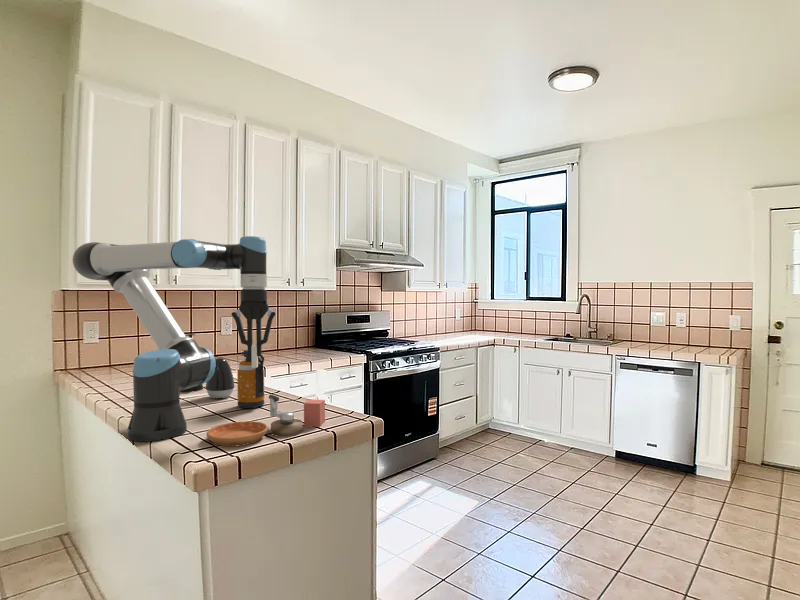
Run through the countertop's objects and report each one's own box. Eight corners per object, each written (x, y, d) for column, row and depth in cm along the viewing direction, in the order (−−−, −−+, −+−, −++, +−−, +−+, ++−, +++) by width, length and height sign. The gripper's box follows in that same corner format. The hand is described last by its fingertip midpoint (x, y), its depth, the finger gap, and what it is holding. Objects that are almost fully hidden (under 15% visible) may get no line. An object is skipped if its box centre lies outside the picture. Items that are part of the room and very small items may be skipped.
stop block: (304, 426, 143) (303, 403, 142) (309, 421, 148) (309, 399, 147) (320, 426, 142) (319, 403, 142) (325, 422, 147) (324, 399, 147)
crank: (296, 422, 137) (296, 400, 137) (283, 424, 134) (283, 402, 134) (277, 413, 146) (276, 393, 146) (264, 416, 143) (264, 395, 143)
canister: (254, 402, 173) (254, 347, 173) (273, 406, 166) (272, 350, 166) (232, 406, 166) (232, 350, 166) (250, 411, 159) (250, 352, 159)
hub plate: (265, 435, 133) (265, 426, 133) (278, 426, 142) (278, 417, 142) (296, 437, 132) (296, 427, 132) (307, 427, 141) (307, 418, 141)
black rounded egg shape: (227, 393, 188) (226, 355, 188) (239, 397, 181) (238, 357, 180) (201, 397, 181) (200, 357, 181) (212, 401, 174) (212, 360, 173)
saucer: (197, 439, 131) (197, 428, 131) (251, 427, 142) (251, 417, 142) (221, 453, 120) (221, 441, 119) (278, 439, 131) (278, 428, 131)
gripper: (228, 288, 137) (229, 370, 137) (275, 288, 139) (276, 368, 140) (233, 288, 144) (234, 365, 145) (277, 288, 146) (278, 364, 147)
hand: (254, 367), depth 142 cm, fingers closed
